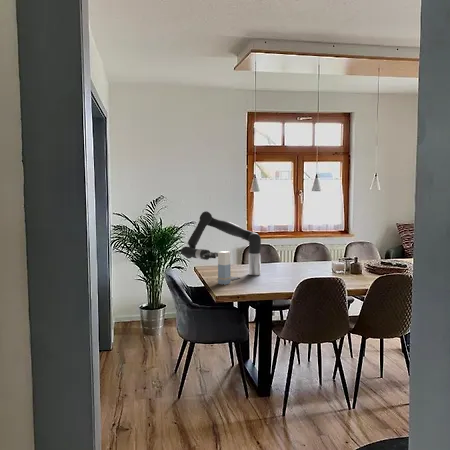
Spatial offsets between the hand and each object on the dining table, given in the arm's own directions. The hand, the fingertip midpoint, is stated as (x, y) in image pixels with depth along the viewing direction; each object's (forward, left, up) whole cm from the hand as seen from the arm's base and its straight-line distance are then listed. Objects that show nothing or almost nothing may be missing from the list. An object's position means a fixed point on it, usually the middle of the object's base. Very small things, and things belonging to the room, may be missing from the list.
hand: (219, 256), depth 338 cm
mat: (-4, -16, -19) cm, 25 cm away
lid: (-4, +2, -5) cm, 7 cm away
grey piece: (-4, +2, -19) cm, 20 cm away
